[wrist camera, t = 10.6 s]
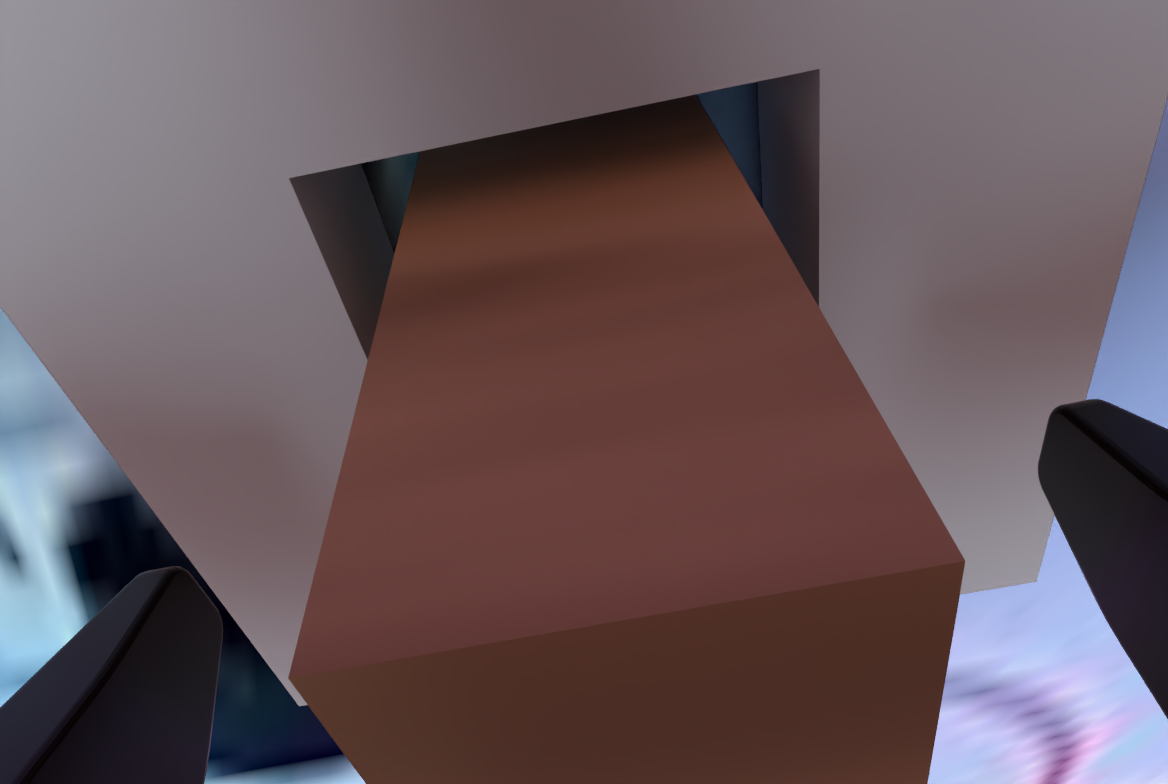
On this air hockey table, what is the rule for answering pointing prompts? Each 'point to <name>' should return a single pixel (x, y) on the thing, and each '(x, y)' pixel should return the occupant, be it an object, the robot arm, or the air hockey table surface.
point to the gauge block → (527, 100)
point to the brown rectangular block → (619, 492)
